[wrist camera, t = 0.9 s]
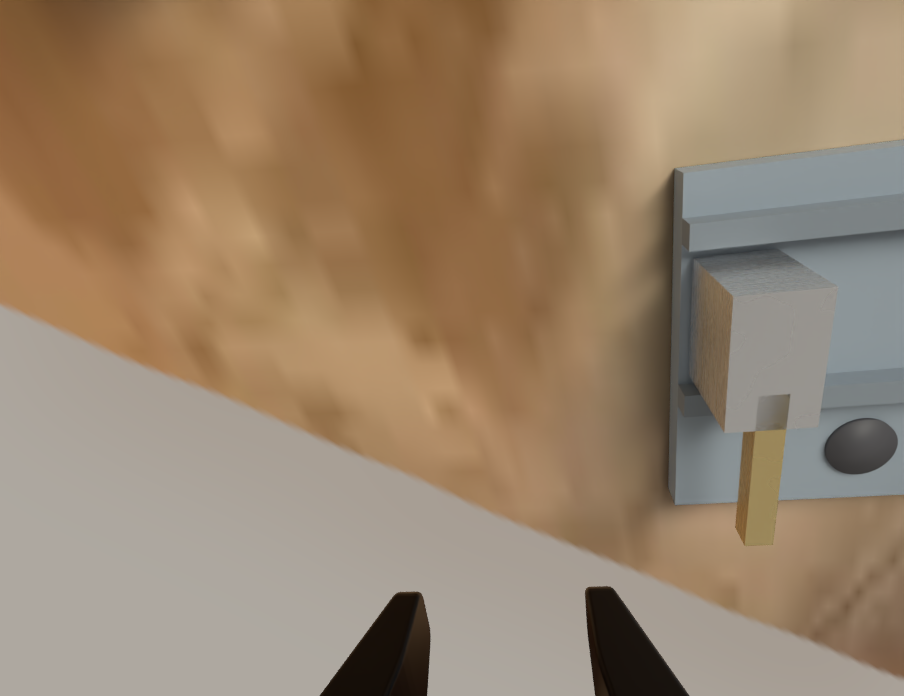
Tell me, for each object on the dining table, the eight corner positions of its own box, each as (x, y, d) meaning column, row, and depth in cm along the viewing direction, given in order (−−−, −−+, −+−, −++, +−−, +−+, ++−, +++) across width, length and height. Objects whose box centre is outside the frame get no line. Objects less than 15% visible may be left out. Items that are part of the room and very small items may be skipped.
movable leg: (777, 248, 17) (838, 286, 14) (756, 471, 20) (801, 543, 17) (692, 257, 17) (733, 296, 14) (685, 475, 21) (717, 546, 17)
